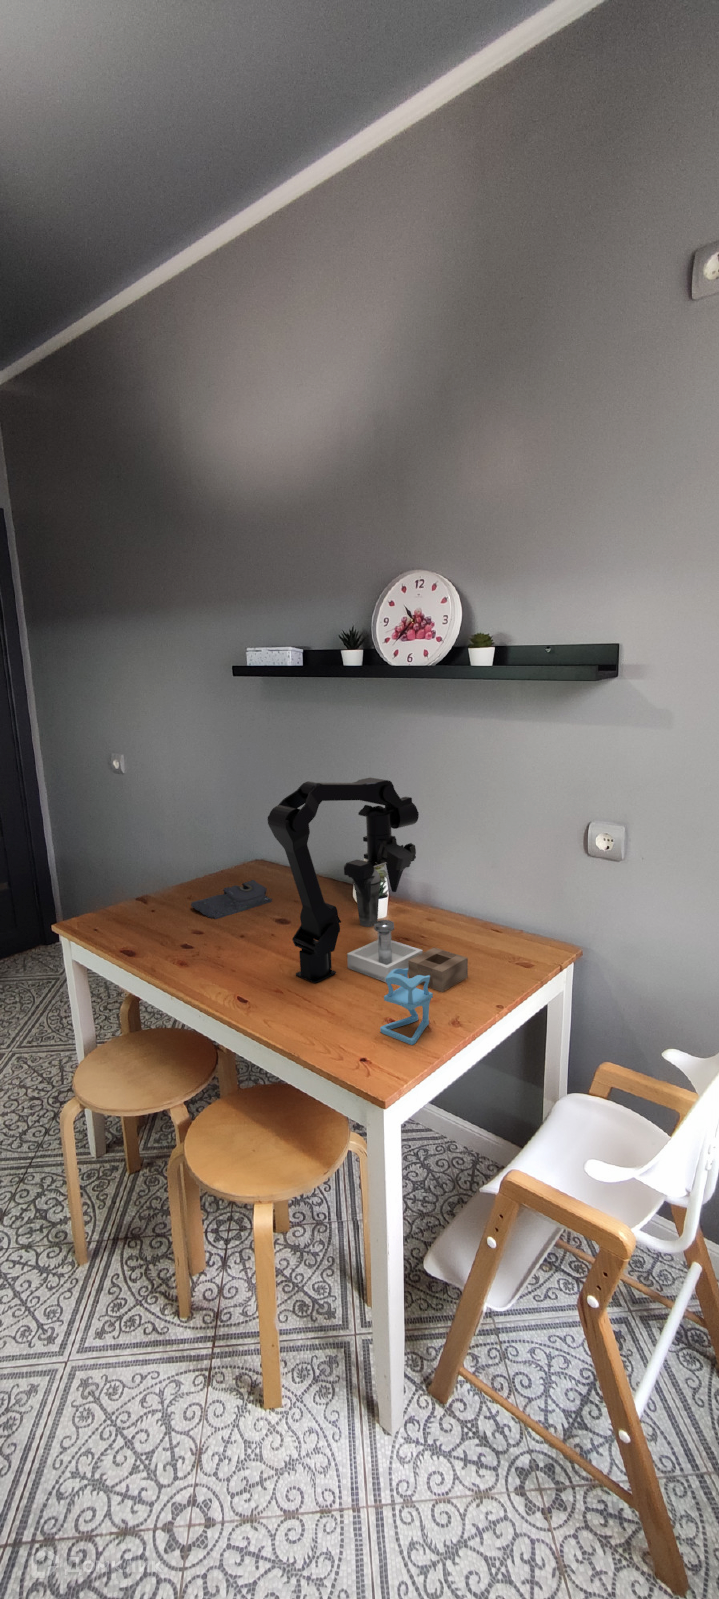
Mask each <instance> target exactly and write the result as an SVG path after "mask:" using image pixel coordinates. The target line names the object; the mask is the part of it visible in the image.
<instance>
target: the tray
mask: <svg viewBox="0 0 719 1599" xmlns="http://www.w3.org/2000/svg"><path fill="white" fill-rule="evenodd" d="M391 945H392V963H390V964H388V965H385V964H382V963H379V956H378V939H376V940H374V941H372V942H370V943H368V944H365V945H363V946H360V947H359V948H357V949H354V950H352V951H350V952H347V953H346V955H347V956H346V957H347V960H346V961H347V969H349V970H352V971H353V972H354V971H355V972H357V973H359V974H362V975H364V976H368V977H371V978H373V979H375V980H378V981H381V982H384V983H386V980H385V978H386V977H387V975H388V974H389V973H390V972H391V971H392V970H393V969H406V968H408V973H409V966H408V960H410V959H412V958H414V957H416V956H418V955H420V954H422V953H424V949H421V948H417V947H413V946H411V945H408V944H405V943H402V942H399V941H396V940H392V939H391ZM400 975H402V976H404V974H400Z"/></svg>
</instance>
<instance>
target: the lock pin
mask: <svg viewBox="0 0 719 1599" xmlns="http://www.w3.org/2000/svg"><path fill="white" fill-rule="evenodd" d="M373 927H374V928H373V930H375V932H377V940H378V956H379V963H382V964H385V965H388V964H390V963H392V945H391V940H392V932H393V931H394V930H395V922H394V921H393V920H389V919H381V920H377V921H376V922H375V923H374V926H373Z"/></svg>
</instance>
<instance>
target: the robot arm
mask: <svg viewBox="0 0 719 1599" xmlns="http://www.w3.org/2000/svg"><path fill="white" fill-rule="evenodd" d="M331 801H332V802H333V801H334V802H335V801H336V802H337V801H341V802H342V801H360V802H366V803H370V804H371V803H372V804H375V806H372V805H369V804H364V805H363V807H362V809H360V810H359V812H358V814H357V815H358V816H362V817H365V820H366V821H365V823H366V835H365V836H363V837H362V841H363V842H365V843H366V846H367V848H366V853H364V854H363V859H365V860H366V861H365V860H361V859H353V860H352V861H348V862H346V863H345V864H344V865H343V873H344V874H343V875H345V876H348V878H351V879H352V880H354V882H355V883H356V885H357V886H358V888H359V890H360V892H361V894H362V896H363V898H364V899H365V901H366V902H368V903H369V902H370V898H371V881H372V880H373V879H374V877H375V876H372V875H373V873H374V868H375V869H376V868H379V867H381V866H384V865H385V866H386V872H387V876H388V881H389V886H390V889H391V892H392V893H396V892H397V891H398V887H399V884H400V881H401V878H402V874H403V871H404V870H405V869H406V868H409V867H411V864H412V862H415V859H416V858H417V857H416V855H417V854H416V853H417V850H416V845H415V844H413V843H412V842H410V843H407V844H405V845H403V844H402V845H399V844H398V843H397V838H396V836H395V835H392V829H396V830H397V829H399V828H400V829H401V828H404V827H409V826H411V825H415V824H416V823H417V822H418V820H419V817H420V816H419V815H420V814H419V811H418V808H417V806H416V805H415V803H414V802H413V797H409V796H404V797H400V796H399V794H398V793H397V791H396V790H395V786H394V784H393V782H392V781H391V780H388V779H383V778H382V779H380V778H375V777H366V778H361V779H358V780H357V781H354V782H314V781H305V782H303V783H302V784H301V785H300V786H299V787H298V788H297V789H296V790H295V791H293V792H291V793H290V794H289V795H287V796H286V797H285V798H283V799H282V800H281V801H280V802H279V803H278V805H275V806H274V807H273V808H272V809H271V810H270V811H269V815H268V816H267V825H268V827H269V829H270V831H271V833H272V835H273V836H274V838H275V839H276V841H278V843H279V844H280V845H281V847H282V848H283V849H284V852H285V854H286V858H287V860H288V863H289V867H290V871H291V874H292V876H293V880H294V883H295V887H296V889H297V893H298V895H299V899H300V902H301V906H302V908H301V910H300V911H301V912H300V916H299V921H300V926H299V927H298V929H297V931H296V932H295V934H294V935H293V937H292V939H291V940H292V943H293V945H294V946H295V948H299V949H301V950H299V951H298V952H299V954H298V955H299V970H300V971H298V972H296V973H295V976H296V977H298V978H300V979H303V980H304V981H305V980H306V981H308V982H311V983H313V984H317V983H319V982H321V981H324V980H325V979H328V978H329V977H332V976H334V975H336V973H337V971H335V970H333V969H332V967H333V965H332V953H333V952H335V951H336V950H335V949H336V946H337V941H338V937H339V933H340V932H341V925H340V924H341V923H342V920H341V919H340V917H339V915H338V914H339V913H338V908H337V906H336V905H332V904H331V903H328V902H325V899H324V896H323V893H322V890H321V886H320V883H319V879H318V876H317V872H316V869H315V866H314V863H313V859H312V856H311V853H310V849H309V846H308V845H309V844H308V842H309V838H310V833H311V831H310V823H311V822H312V820H314V819H315V817H316V815H317V814H318V813H317V812H318V809H319V807H320V804H321V803H322V802H331ZM383 806H384V807H383ZM300 807H301V808H300ZM367 859H368V861H367Z"/></svg>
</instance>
